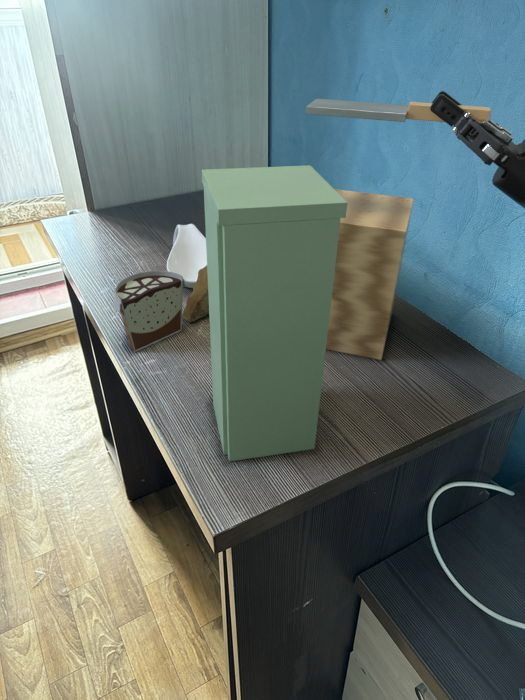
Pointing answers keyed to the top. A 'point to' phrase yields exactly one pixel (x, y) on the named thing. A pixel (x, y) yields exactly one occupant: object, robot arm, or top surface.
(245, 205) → the tall green cabinet
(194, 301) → the rock
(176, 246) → the spoon rest
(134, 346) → the mint chocolate cake slice
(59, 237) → the top surface
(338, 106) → the knife
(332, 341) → the block
